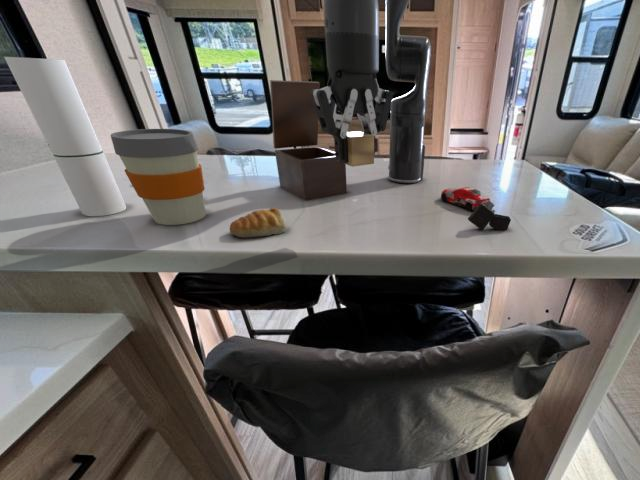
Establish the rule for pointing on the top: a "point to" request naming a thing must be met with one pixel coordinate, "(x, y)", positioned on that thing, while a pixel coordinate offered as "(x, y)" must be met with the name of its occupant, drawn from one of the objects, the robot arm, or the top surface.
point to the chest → (311, 172)
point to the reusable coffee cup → (164, 172)
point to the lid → (293, 113)
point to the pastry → (259, 224)
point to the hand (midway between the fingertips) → (355, 160)
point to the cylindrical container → (68, 133)
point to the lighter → (488, 217)
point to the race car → (465, 197)
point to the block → (360, 148)
